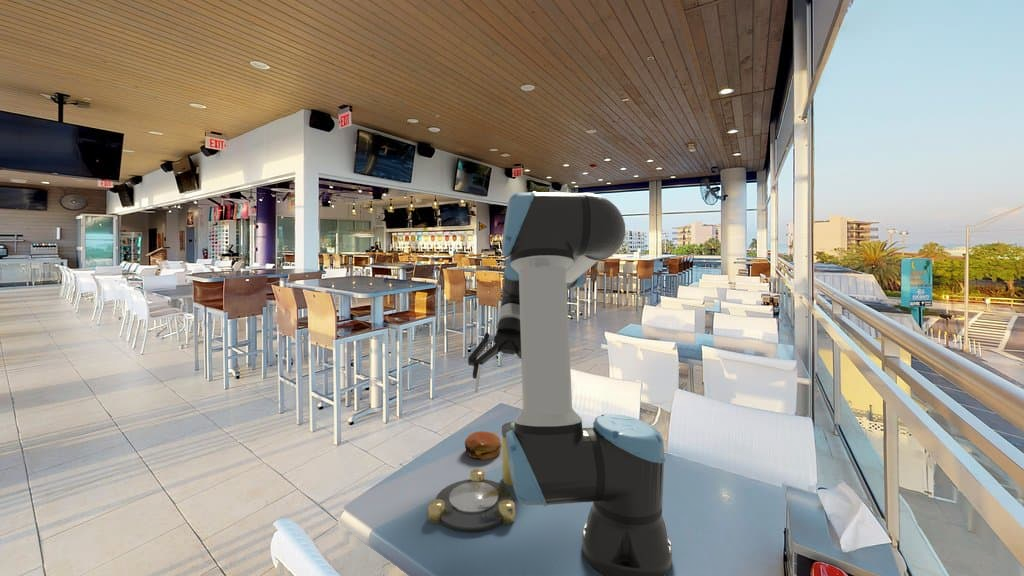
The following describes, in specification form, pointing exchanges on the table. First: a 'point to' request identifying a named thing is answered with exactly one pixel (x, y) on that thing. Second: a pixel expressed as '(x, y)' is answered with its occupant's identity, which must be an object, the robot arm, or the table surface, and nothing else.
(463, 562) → the table surface
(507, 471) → the yellow battery cell
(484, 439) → the burger
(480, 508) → the tribrach
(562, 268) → the robot arm
